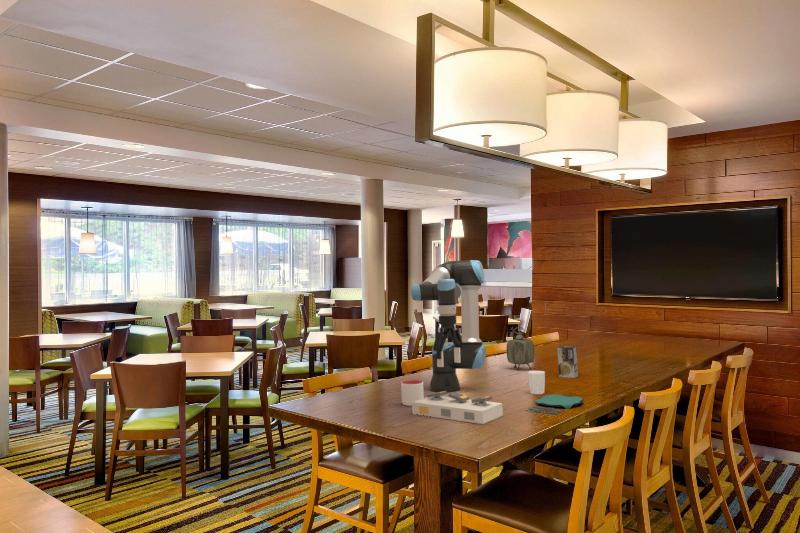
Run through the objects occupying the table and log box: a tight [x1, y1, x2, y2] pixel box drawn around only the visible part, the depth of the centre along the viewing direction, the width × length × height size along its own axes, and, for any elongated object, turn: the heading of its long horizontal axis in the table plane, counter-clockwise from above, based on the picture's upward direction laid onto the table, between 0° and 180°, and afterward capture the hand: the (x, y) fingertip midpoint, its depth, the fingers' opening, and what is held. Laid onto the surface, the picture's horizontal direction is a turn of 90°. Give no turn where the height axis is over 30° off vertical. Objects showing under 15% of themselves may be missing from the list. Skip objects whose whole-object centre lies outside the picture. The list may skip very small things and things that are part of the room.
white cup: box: [527, 370, 546, 395], centre depth 289 cm, size 8×8×10 cm
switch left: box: [426, 391, 448, 398], centre depth 261 cm, size 7×5×1 cm
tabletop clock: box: [506, 326, 536, 371], centre depth 356 cm, size 14×9×25 cm, turn 46°
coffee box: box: [556, 345, 579, 379], centre depth 329 cm, size 9×6×16 cm
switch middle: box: [448, 391, 470, 402], centre depth 254 cm, size 7×5×1 cm
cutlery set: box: [524, 394, 584, 416], centre depth 262 cm, size 20×30×2 cm, turn 140°
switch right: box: [471, 395, 493, 403], centre depth 247 cm, size 7×5×1 cm
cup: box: [400, 379, 425, 407], centre depth 275 cm, size 10×10×10 cm
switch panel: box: [411, 395, 504, 425], centre depth 252 cm, size 34×16×6 cm, turn 52°
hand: (449, 364), depth 260 cm, fingers open, 13 cm apart
